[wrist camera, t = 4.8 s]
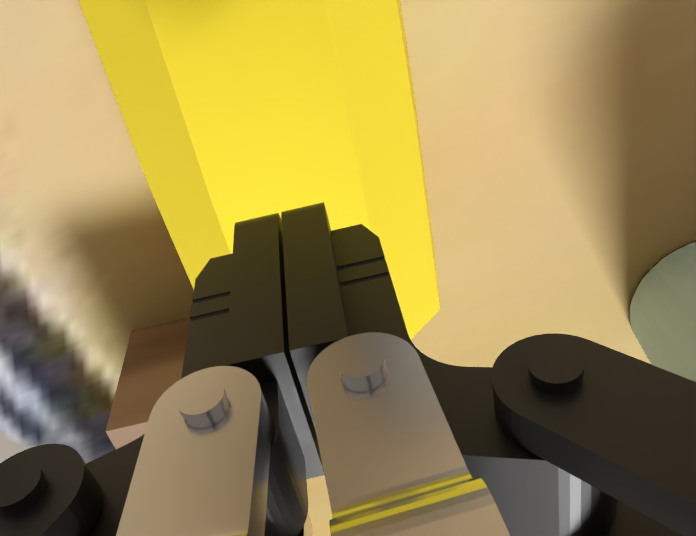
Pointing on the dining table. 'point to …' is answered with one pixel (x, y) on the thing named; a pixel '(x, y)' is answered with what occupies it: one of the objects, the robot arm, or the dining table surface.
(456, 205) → the dining table surface
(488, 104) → the dining table surface
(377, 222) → the yellow banana
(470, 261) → the dining table surface
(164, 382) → the walnut numbered block
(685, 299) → the cup
